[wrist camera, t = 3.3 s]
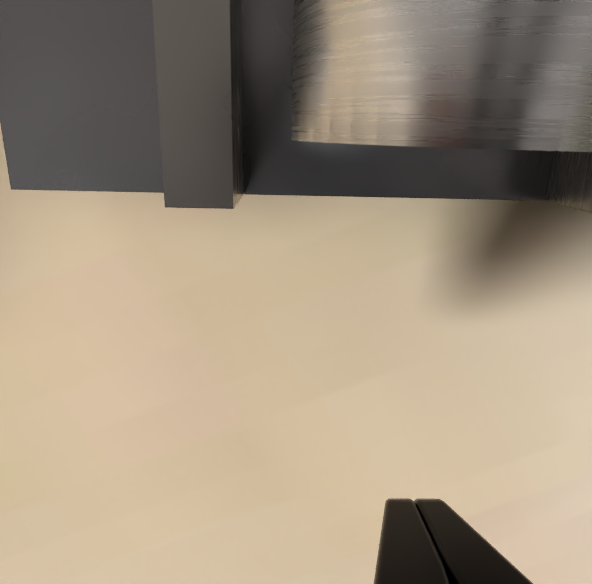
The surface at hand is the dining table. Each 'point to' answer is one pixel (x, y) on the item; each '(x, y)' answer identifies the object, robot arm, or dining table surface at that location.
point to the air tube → (444, 73)
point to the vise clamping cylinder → (212, 113)
